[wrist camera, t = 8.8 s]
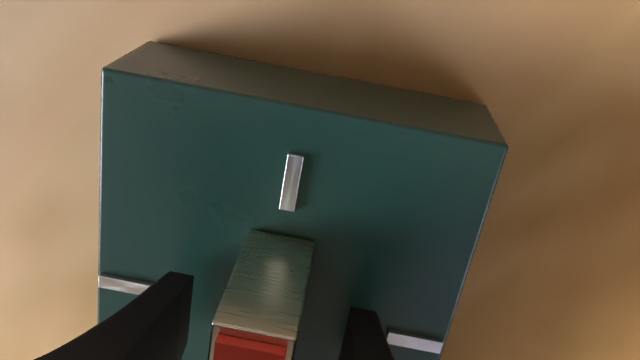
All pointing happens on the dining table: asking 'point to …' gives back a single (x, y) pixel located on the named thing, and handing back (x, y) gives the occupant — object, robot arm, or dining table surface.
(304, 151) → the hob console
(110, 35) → the dining table surface
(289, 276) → the hob knob
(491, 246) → the dining table surface
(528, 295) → the dining table surface
